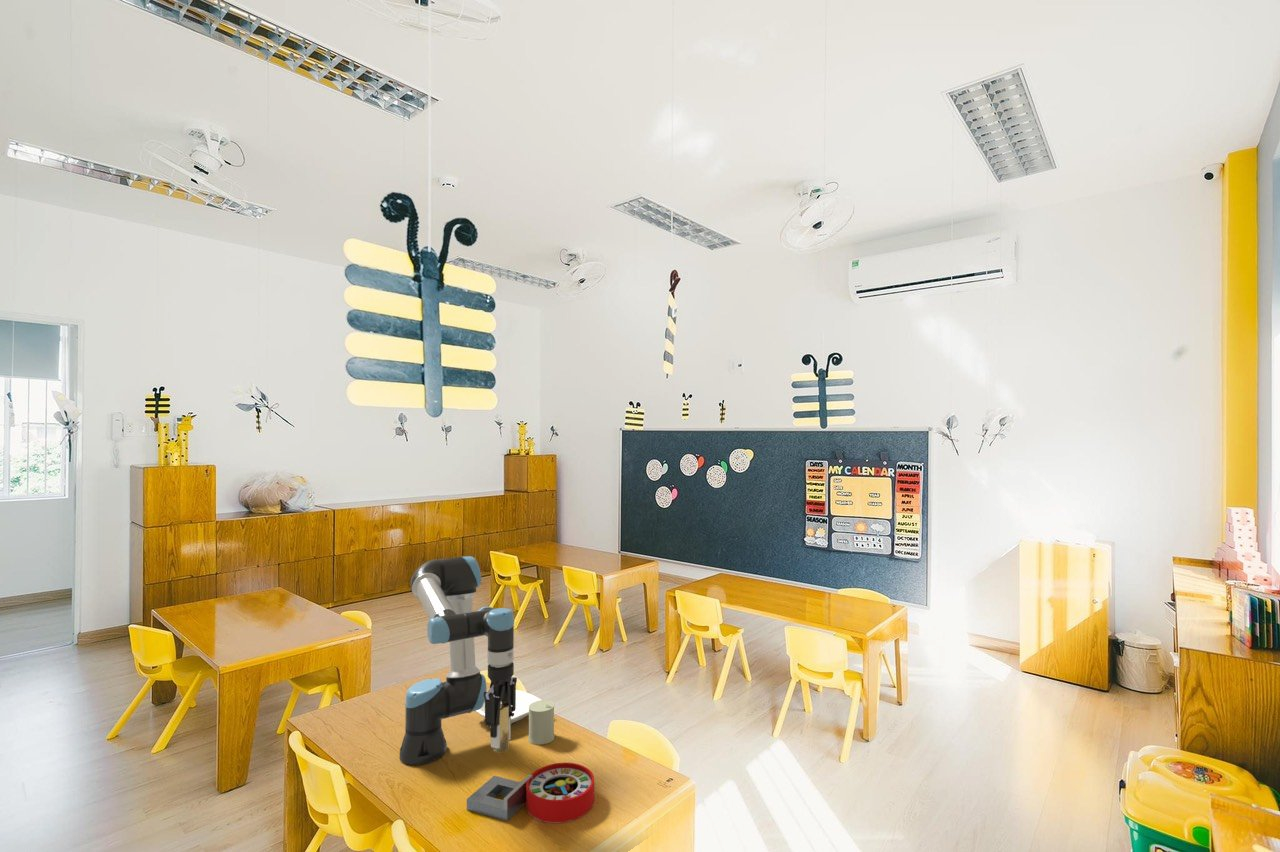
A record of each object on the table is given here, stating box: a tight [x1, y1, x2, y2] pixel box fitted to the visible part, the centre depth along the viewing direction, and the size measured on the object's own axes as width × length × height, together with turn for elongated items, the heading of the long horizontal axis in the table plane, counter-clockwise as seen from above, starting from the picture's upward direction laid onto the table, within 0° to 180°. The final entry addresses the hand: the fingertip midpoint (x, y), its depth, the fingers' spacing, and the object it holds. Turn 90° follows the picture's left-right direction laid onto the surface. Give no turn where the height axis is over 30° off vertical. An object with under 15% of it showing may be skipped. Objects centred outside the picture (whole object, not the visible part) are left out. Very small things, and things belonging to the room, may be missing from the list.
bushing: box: [492, 704, 510, 753], centre depth 173 cm, size 4×4×12 cm
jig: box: [466, 774, 533, 822], centre depth 172 cm, size 14×13×6 cm
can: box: [528, 699, 555, 746], centre depth 210 cm, size 9×9×12 cm
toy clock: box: [525, 762, 595, 824], centre depth 172 cm, size 20×6×20 cm
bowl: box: [475, 689, 542, 724], centre depth 225 cm, size 22×23×6 cm
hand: (500, 742), depth 172 cm, fingers closed on bushing, 4 cm apart
